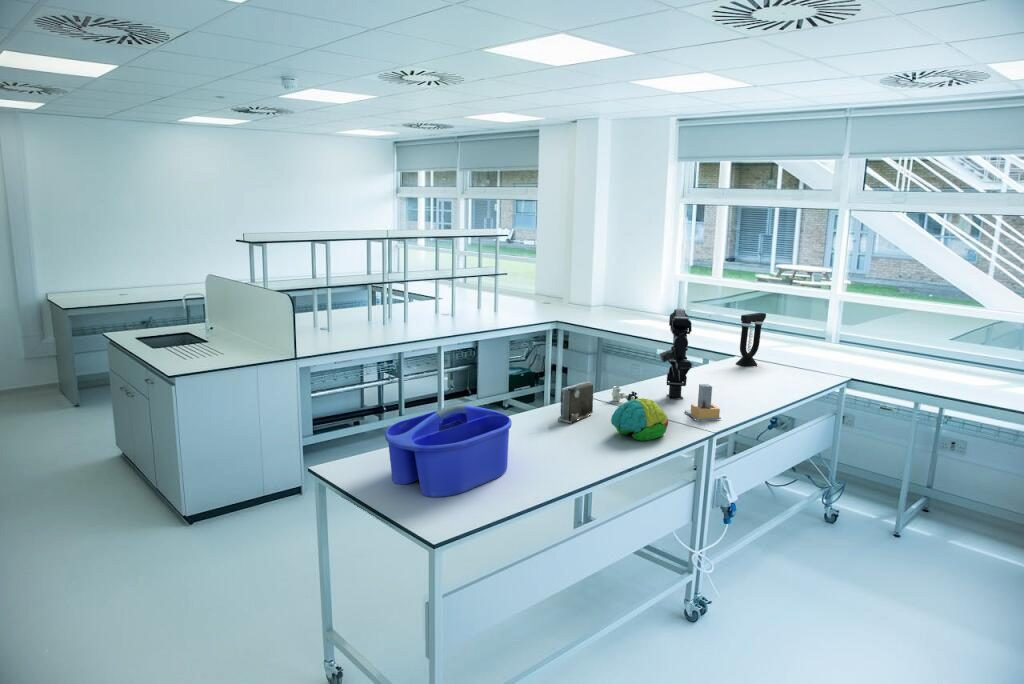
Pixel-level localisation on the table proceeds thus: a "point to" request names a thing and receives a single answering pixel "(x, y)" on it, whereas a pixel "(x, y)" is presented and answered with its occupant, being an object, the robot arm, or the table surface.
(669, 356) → the robot arm
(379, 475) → the table surface
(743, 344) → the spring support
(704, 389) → the rectangular block
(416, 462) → the caddy
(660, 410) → the brain model
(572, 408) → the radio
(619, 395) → the valve
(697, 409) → the keeper bracket
